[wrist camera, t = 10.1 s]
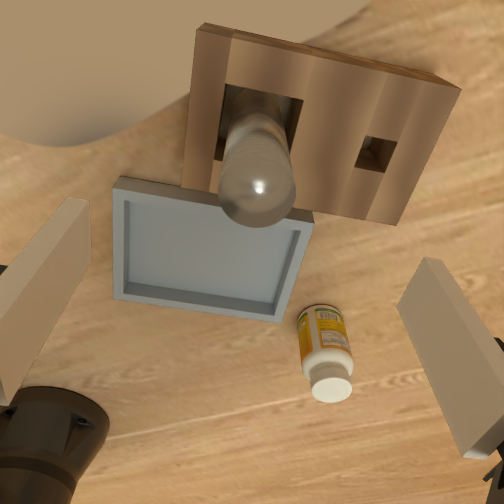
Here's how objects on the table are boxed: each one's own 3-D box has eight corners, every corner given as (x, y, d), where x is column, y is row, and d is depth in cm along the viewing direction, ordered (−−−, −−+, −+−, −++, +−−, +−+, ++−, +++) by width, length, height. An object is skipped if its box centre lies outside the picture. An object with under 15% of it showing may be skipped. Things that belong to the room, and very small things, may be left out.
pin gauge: (228, 130, 33) (212, 220, 21) (236, 81, 31) (224, 149, 19) (274, 139, 34) (285, 233, 21) (285, 91, 31) (305, 165, 19)
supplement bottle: (332, 296, 44) (349, 366, 36) (348, 326, 47) (368, 397, 39) (288, 313, 45) (295, 383, 37) (307, 341, 48) (317, 412, 40)
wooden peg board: (189, 162, 35) (180, 187, 31) (204, 22, 29) (196, 29, 24) (380, 198, 37) (396, 226, 33) (434, 74, 30) (461, 89, 26)
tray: (120, 283, 43) (113, 299, 41) (120, 175, 36) (112, 187, 33) (279, 307, 45) (280, 323, 43) (311, 210, 37) (314, 223, 35)
